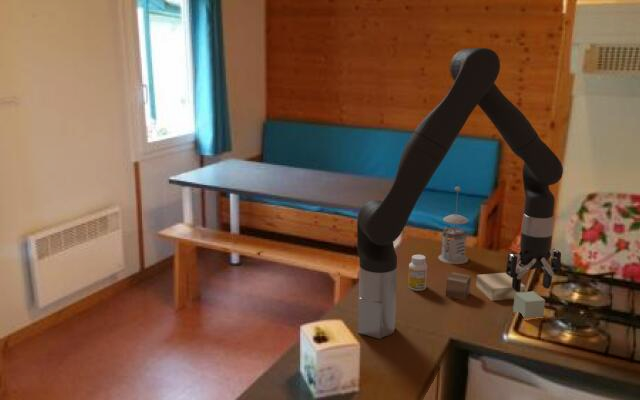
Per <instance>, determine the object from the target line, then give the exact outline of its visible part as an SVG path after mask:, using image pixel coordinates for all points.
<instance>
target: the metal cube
mask: <svg viewBox="0 0 640 400" xmlns="http://www.w3.org/2000/svg"><path fill="white" fill-rule="evenodd" d="M471 280H472V275H468V274H464V273H463V274H462V273H458V272H454V271H453V272H451V273H450V274H449V275H448V277H447V278H446V282H445V297H447V298H451V299H456V300H460V301H466V299H467V298H468V297H469V295H470V294H471V287H472V285H471V284H472V281H471Z"/></svg>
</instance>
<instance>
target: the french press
mask: <svg viewBox="0 0 640 400" xmlns="http://www.w3.org/2000/svg"><path fill="white" fill-rule="evenodd" d="M454 191H456V198H458V197H459V196H458V195H459V191H462V190H461V187H460V186H455V187H454ZM457 210H458V201H456V205H455V213H457ZM442 220H443V222H444V223H446V224H448V225H449V224H450V225H454V227H452V226H451V227H448V226H447V225H446V226H445V227H444V228H443V231H442V233H441V254H440V255H438V260H440V261H441V262H443V263H446V264H451V265H461V264H462V265H463V264H465V263H467V262H469V259H468V257H467V256H466V246H467V244H466V243H467V238H468V237H467V235H466V234H467V232H466V230H464V229H463V228H457V227H456V225H457V226H458V225H466V224H467V223H468V222H469V219H468V218H467V217H465V216H463V215H460V214H449V215H447V216H444V218H443V217H442Z"/></svg>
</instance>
